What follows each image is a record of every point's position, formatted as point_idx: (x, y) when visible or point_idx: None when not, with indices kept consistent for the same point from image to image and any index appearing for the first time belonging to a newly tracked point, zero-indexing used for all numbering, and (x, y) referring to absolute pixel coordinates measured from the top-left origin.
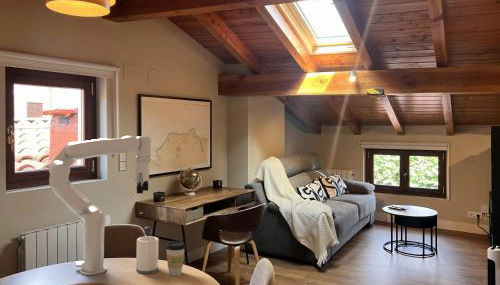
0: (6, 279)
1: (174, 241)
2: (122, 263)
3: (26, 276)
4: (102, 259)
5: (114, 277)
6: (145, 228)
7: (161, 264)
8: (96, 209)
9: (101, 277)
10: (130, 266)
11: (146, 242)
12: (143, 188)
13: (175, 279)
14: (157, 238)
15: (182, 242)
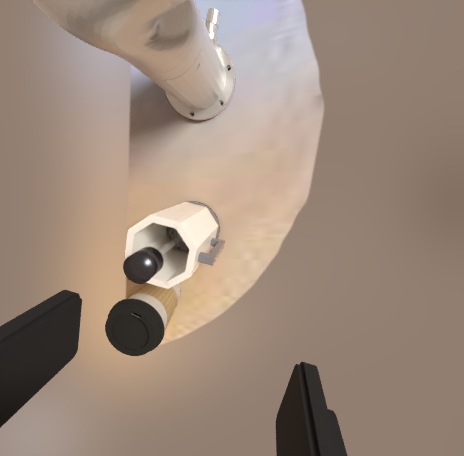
0: None
1: (154, 332)
2: (257, 158)
3: None
4: (180, 100)
5: (148, 150)
6: (126, 259)
7: (235, 262)
8: None
9: (149, 116)
10: (227, 183)
11: (127, 248)
12: (294, 397)
13: (131, 286)
14: (165, 285)
15: (142, 352)
